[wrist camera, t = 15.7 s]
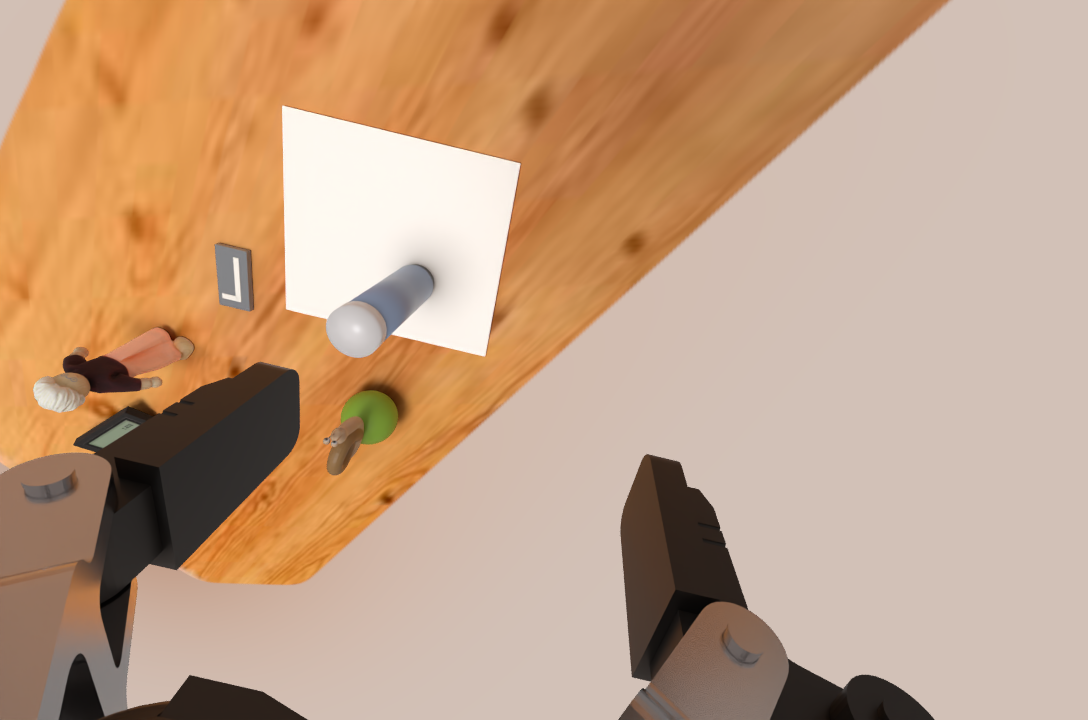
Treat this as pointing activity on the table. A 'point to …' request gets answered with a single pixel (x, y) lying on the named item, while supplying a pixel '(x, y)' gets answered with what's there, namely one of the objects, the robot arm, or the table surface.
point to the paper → (394, 223)
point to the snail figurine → (360, 427)
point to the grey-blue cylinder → (379, 311)
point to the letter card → (234, 276)
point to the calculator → (111, 429)
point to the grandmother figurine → (111, 370)
